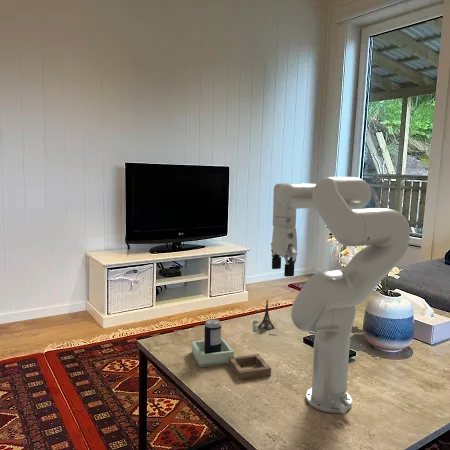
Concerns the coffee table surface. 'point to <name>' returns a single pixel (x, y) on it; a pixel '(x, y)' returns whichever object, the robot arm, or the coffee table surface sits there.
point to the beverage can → (212, 336)
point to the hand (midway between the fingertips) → (282, 272)
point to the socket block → (249, 373)
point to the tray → (211, 354)
